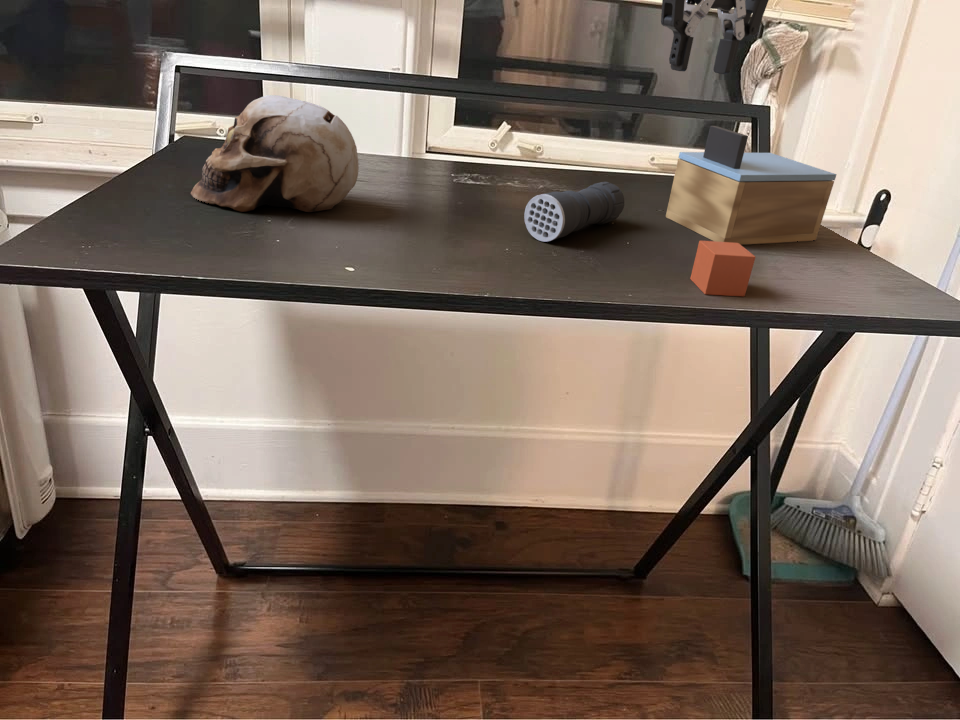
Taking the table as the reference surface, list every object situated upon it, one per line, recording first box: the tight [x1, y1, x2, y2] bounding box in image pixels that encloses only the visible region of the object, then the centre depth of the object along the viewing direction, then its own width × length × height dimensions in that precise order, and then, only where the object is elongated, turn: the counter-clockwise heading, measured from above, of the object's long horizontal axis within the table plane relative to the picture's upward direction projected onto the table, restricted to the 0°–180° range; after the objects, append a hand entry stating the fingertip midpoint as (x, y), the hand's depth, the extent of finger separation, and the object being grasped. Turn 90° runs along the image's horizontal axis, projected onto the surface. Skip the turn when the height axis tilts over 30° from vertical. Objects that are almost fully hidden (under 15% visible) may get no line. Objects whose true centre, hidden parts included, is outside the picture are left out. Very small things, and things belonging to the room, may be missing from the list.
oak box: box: [665, 158, 835, 246], centre depth 99 cm, size 12×16×8 cm
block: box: [689, 240, 756, 297], centre depth 78 cm, size 4×4×4 cm
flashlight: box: [523, 181, 625, 243], centre depth 92 cm, size 15×5×5 cm, turn 140°
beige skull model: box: [190, 94, 360, 213], centre depth 89 cm, size 16×17×13 cm
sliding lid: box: [678, 125, 837, 182], centre depth 97 cm, size 12×16×5 cm
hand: (700, 71), depth 87 cm, fingers open, 5 cm apart
